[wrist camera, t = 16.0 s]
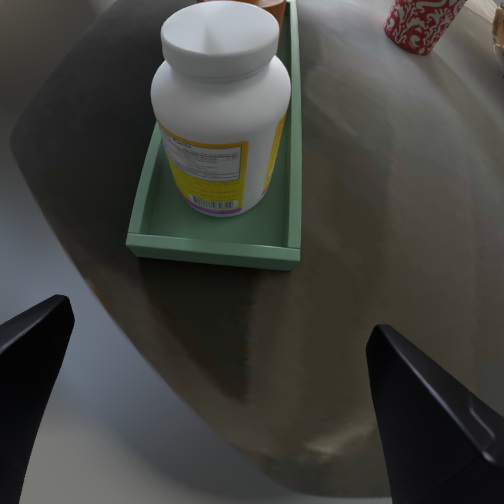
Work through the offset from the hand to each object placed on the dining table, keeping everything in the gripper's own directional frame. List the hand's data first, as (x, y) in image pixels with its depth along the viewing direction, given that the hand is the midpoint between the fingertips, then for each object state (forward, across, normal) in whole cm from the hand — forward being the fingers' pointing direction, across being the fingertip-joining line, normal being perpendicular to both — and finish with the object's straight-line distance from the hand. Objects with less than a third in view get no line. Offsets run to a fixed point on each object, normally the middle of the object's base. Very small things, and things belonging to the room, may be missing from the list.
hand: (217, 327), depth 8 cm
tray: (+23, +1, -6) cm, 24 cm away
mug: (+36, -20, -20) cm, 46 cm away
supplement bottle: (+16, +1, 0) cm, 16 cm away
